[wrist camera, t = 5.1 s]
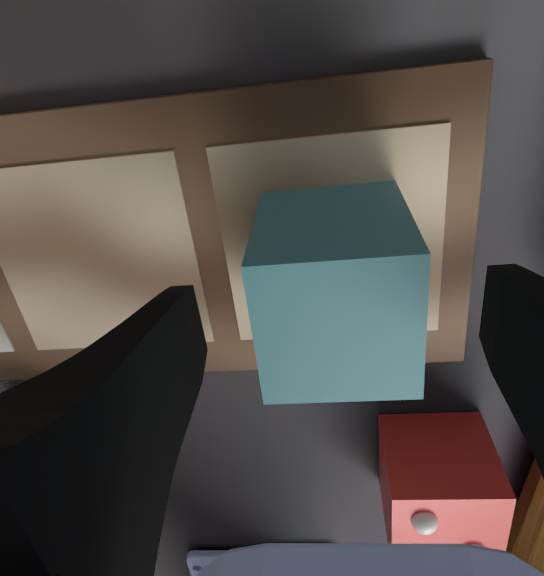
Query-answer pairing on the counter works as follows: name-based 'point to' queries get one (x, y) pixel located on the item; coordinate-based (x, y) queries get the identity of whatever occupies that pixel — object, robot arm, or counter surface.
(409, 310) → the teal rectangular block
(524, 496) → the tap handle
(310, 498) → the counter surface
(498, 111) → the counter surface
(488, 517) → the red die
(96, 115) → the game board
